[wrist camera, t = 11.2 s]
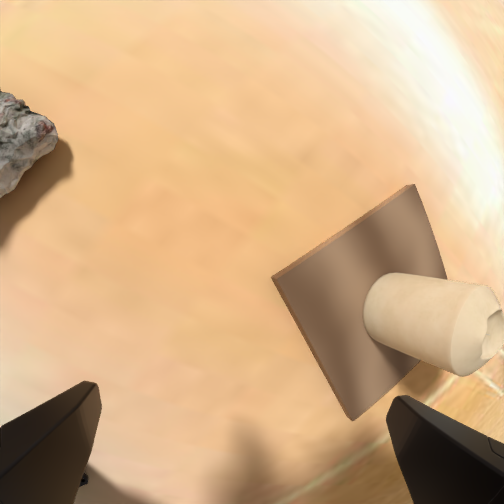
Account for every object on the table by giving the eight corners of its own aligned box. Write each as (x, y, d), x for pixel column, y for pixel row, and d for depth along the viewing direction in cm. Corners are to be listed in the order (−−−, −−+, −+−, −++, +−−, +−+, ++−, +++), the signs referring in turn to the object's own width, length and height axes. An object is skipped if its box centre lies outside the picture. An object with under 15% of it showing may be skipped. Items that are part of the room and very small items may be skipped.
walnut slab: (346, 415, 24) (353, 421, 23) (270, 277, 21) (276, 278, 20) (450, 318, 27) (457, 320, 26) (406, 185, 25) (414, 184, 24)
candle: (354, 342, 22) (459, 390, 13) (368, 267, 22) (484, 283, 13) (405, 341, 24) (502, 377, 14) (418, 276, 24) (522, 291, 15)
